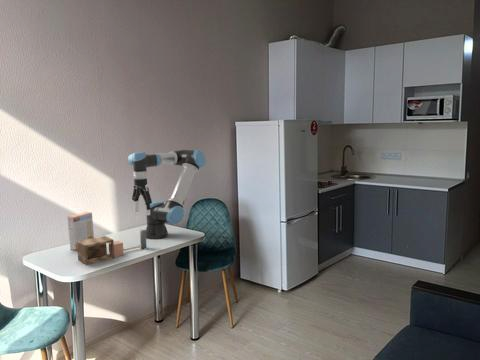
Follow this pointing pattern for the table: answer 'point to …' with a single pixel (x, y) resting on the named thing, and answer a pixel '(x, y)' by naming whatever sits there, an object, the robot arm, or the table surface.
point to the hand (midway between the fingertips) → (142, 213)
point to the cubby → (94, 250)
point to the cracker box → (80, 228)
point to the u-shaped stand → (119, 247)
